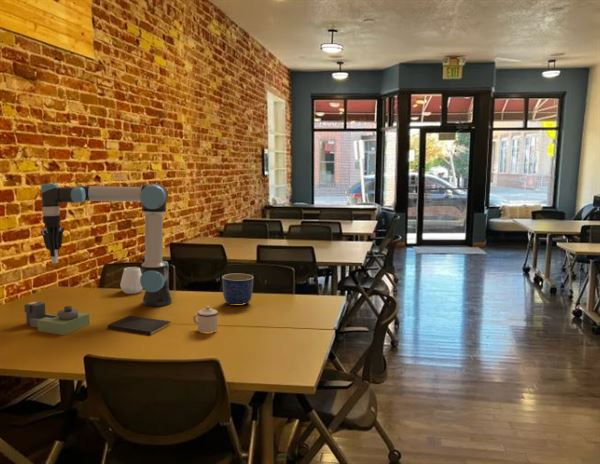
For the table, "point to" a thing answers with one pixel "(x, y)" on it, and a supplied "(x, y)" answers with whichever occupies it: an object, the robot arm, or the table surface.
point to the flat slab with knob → (61, 321)
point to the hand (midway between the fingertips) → (55, 262)
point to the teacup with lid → (206, 319)
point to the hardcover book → (138, 325)
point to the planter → (237, 288)
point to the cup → (131, 280)
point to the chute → (34, 310)
